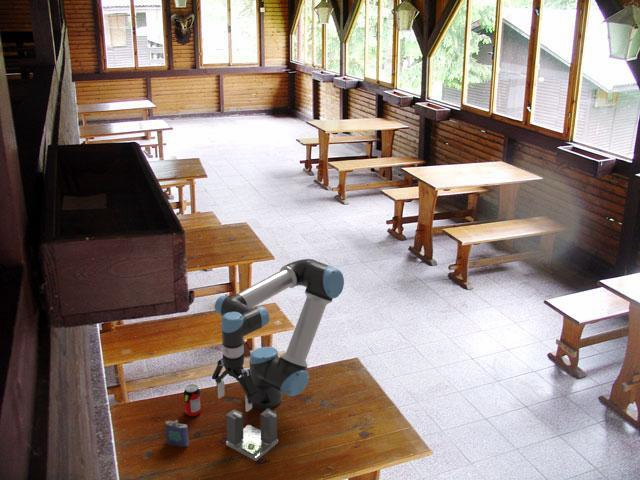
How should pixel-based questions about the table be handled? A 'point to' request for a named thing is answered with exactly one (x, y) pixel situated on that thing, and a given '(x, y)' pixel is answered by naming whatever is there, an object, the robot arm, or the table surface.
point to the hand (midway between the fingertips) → (234, 403)
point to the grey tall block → (268, 426)
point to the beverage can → (192, 400)
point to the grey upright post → (234, 427)
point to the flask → (176, 434)
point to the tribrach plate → (252, 443)
